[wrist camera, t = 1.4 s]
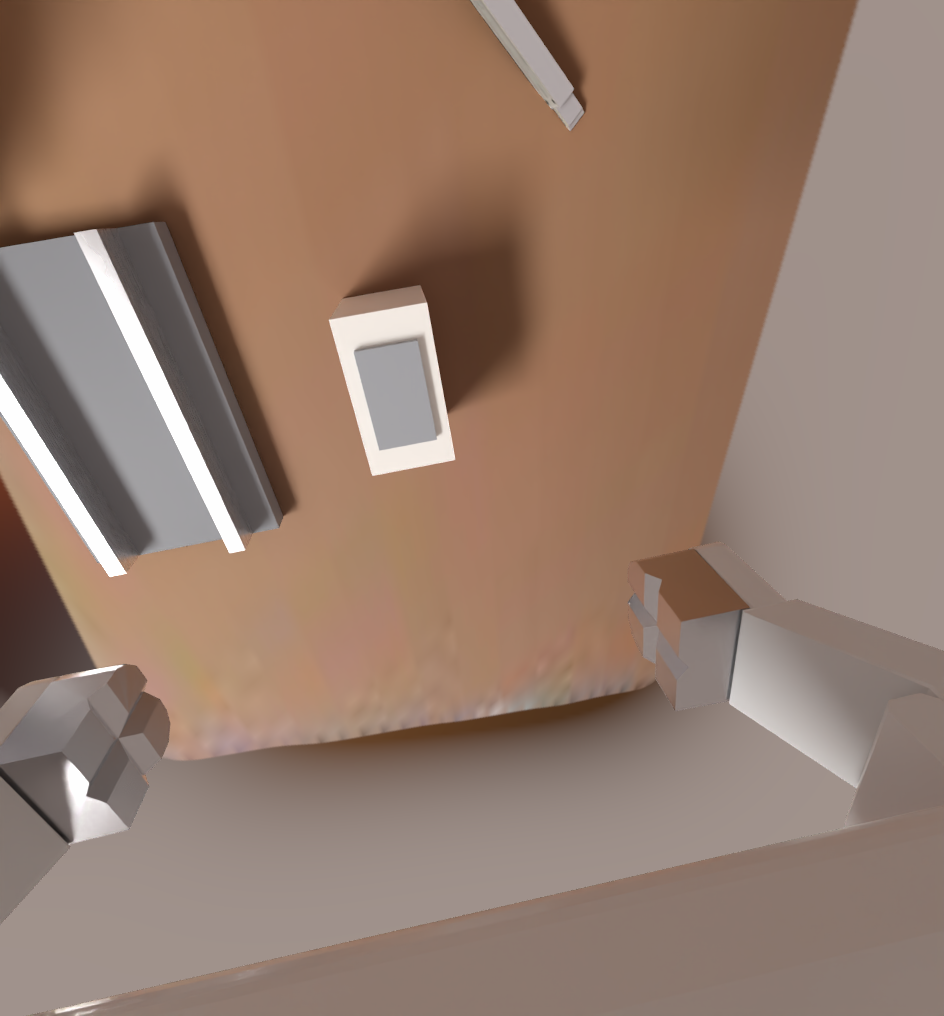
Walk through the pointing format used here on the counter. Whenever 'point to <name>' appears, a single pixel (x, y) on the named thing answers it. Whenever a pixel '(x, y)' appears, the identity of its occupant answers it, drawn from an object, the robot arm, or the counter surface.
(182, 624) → the counter surface
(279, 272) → the counter surface
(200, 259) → the counter surface
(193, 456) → the din rail
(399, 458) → the din module
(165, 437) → the rail base
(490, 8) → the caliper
